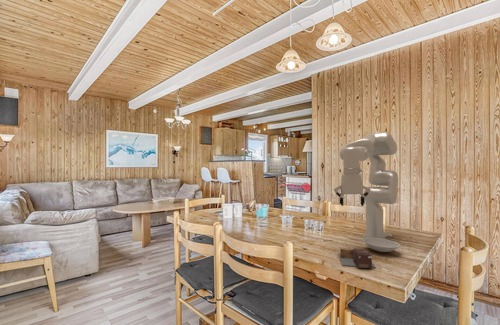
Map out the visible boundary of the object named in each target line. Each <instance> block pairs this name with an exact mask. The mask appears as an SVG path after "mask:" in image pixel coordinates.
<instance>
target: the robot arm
mask: <svg viewBox="0 0 500 325" xmlns="http://www.w3.org/2000/svg"><path fill="white" fill-rule="evenodd" d="M397 152H398V145H397V142H396V141H395V139H394V137H393V135H392V134H390V133H389V132H387V131H384V132H383V131H381V132H380V131H379V132H371V133H368V134H366V135H365V136H364V137H362V138H361V139H358V140H356V141H355V140H354V141H351V142H349V143H347V144H345V145H343V147H341V148H340V151H339V158H340V160H342V163H343V164H342V165H343V173H342V174H341V177H340V185H339V186H337V187H335V188H334V189H333V191H334V193H335V195H337V196H338V197H339V205H340V206H342V207H343V206H344V198H343V197H344V196H345V195H360V206H362V207H364V205H365V233H364V234H363V235H362V237H363V239H365V238H380V239H387V237H391V238H392V237H393V234H392V233H389V232H386V231H384V209H383V207H382V205H381V204H387V205H393V204H395V203H396V202H397V197H398V190H399V175H398V173H397V171H395V170H393V169H392V170H390V169H389V170H388V169H386V168H387V163H386V161H385V160H384V158H382V157H381V156H393V155H395V154H396V153H397ZM368 159H369V161H370V162H369V163H370V167H369V175H368V181H369V184H371V185H372V186H368V187H367V186H366V185H365V186H364V183H363V178H362V174H361V172H362V173H363V168H360V162H364V161H367V160H368ZM382 186H383V187H382ZM339 190H340V192H338V191H339Z"/></svg>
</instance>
